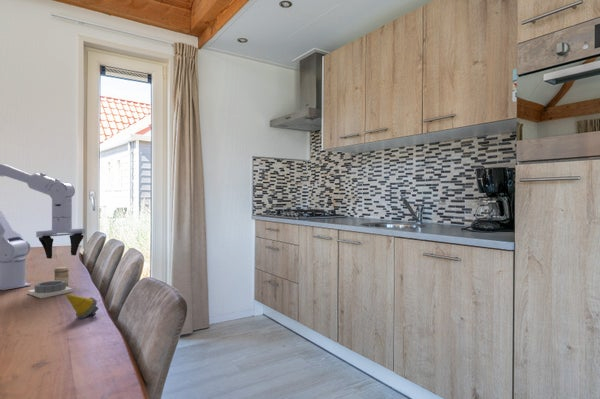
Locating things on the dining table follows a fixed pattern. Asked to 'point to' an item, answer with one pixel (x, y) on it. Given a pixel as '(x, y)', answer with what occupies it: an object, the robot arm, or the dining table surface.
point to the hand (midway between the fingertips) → (61, 256)
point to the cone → (83, 305)
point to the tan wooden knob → (61, 274)
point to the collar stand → (50, 289)
